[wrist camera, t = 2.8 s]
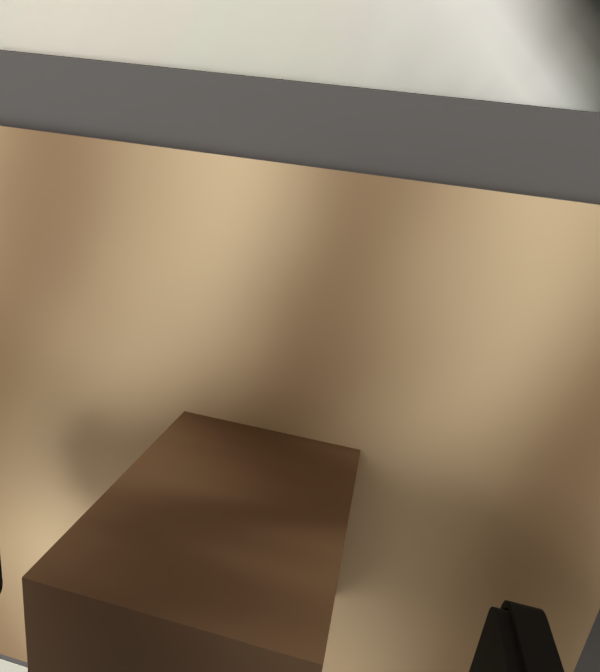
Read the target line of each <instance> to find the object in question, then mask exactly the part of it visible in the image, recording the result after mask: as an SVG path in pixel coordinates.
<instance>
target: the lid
mask: <svg viewBox="0 0 600 672" xmlns="http://www.w3.org/2000/svg"><path fill="white" fill-rule="evenodd" d="M0 557H1V568H2V580H3V587H2V591H1V593H0V654H2V655H6V656H9V657H12V658H15V659H18V660H21V661H24V662H27V663H28V672H469V670H470V667H471V664H472V661H473V658H474V655H475V651H476V648H477V645H478V642H479V639H480V636H481V633H482V630H483V627H484V624H485V621H486V618H487V615H488V612H489V609H490V608H491V607H497V608H501V605H502V603H503V602H504V601H505V600H508V601H512V602H516V603H520V604H524V605H527V606H531V607H535V608H539V609H542V610H543V611H544V612H545V614H546V617H547V619H548V622H549V625H550V628H551V632H552V635H553V638H554V641H555V644H556V647H557V650H558V653H559V656H560V659H561V663H562V666H563V669H564V672H574V669H575V667H576V664H577V662H578V660H579V657H580V655H581V652H582V650H583V648H584V645H585V643H586V640H587V638H588V636H589V633H590V631H591V628H592V626H593V624H594V621H595V619H596V616H597V614H598V612H599V609H600V205H597V204H589V203H582V202H574V201H566V200H559V199H551V198H544V197H536V196H529V195H521V194H513V193H506V192H498V191H491V190H483V189H475V188H468V187H460V186H453V185H445V184H438V183H430V182H422V181H415V180H407V179H400V178H392V177H385V176H377V175H369V174H362V173H354V172H347V171H339V170H332V169H324V168H316V167H309V166H301V165H294V164H286V163H278V162H271V161H263V160H256V159H248V158H241V157H233V156H225V155H218V154H210V153H203V152H195V151H188V150H180V149H172V148H165V147H157V146H150V145H142V144H135V143H127V142H119V141H112V140H104V139H97V138H89V137H82V136H74V135H66V134H59V133H51V132H44V131H36V130H28V129H21V128H13V127H6V126H0Z"/></svg>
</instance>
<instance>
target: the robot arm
mask: <svg viewBox="0 0 600 672" xmlns="http://www.w3.org/2000/svg"><path fill="white" fill-rule="evenodd" d="M2 587H3V580H2V568H1V557H0V593H1V591H2ZM469 672H564V669H563V666H562V663H561V659H560V656H559V653H558V650H557V647H556V644H555V641H554V638H553V635H552V632H551V628H550V625H549V622H548V619H547V617H546V614H545V612H544V611H543V610H542V609H539V608H535V607H531V606H527V605H524V604H520V603H516V602H512V601H508V600H505V601H504V602H503V603H502V605H501V608H497V607H491V608H490V609H489V612H488V615H487V618H486V621H485V624H484V627H483V630H482V633H481V636H480V639H479V642H478V645H477V648H476V651H475V655H474V658H473V661H472V664H471V667H470V670H469Z"/></svg>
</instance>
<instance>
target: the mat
mask: <svg viewBox="0 0 600 672" xmlns="http://www.w3.org/2000/svg"><path fill="white" fill-rule="evenodd" d="M0 126H6V127H13V128H21V129H28V130H36V131H44V132H51V133H59V134H66V135H74V136H82V137H89V138H97V139H104V140H112V141H119V142H127V143H135V144H142V145H150V146H157V147H165V148H172V149H180V150H188V151H195V152H203V153H210V154H218V155H225V156H233V157H241V158H248V159H256V160H263V161H271V162H278V163H286V164H294V165H301V166H309V167H316V168H324V169H332V170H339V171H347V172H354V173H362V174H369V175H377V176H385V177H392V178H400V179H407V180H415V181H422V182H430V183H438V184H445V185H453V186H460V187H468V188H475V189H483V190H491V191H498V192H506V193H513V194H521V195H529V196H536V197H544V198H551V199H559V200H566V201H574V202H582V203H589V204H597V205H600V113H597V112H588V111H578V110H569V109H559V108H550V107H540V106H531V105H521V104H512V103H502V102H492V101H483V100H473V99H464V98H454V97H445V96H435V95H426V94H416V93H407V92H397V91H388V90H378V89H368V88H359V87H349V86H340V85H330V84H321V83H311V82H302V81H292V80H283V79H273V78H264V77H254V76H244V75H235V74H225V73H216V72H206V71H197V70H187V69H178V68H168V67H159V66H149V65H140V64H130V63H120V62H111V61H101V60H92V59H82V58H73V57H63V56H54V55H44V54H35V53H25V52H16V51H6V50H0ZM0 659H3V660H6V661H9V662H12V663H15V664H19V665H22V666H25V667H28V663H27V662H24V661H21V660H18V659H15V658H12V657H9V656H6V655H2V654H0ZM574 672H600V609H599V612H598V614H597V616H596V619H595V621H594V624H593V626H592V628H591V631H590V633H589V636H588V638H587V640H586V643H585V645H584V648H583V650H582V652H581V655H580V657H579V660H578V662H577V664H576V667H575V669H574Z"/></svg>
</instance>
